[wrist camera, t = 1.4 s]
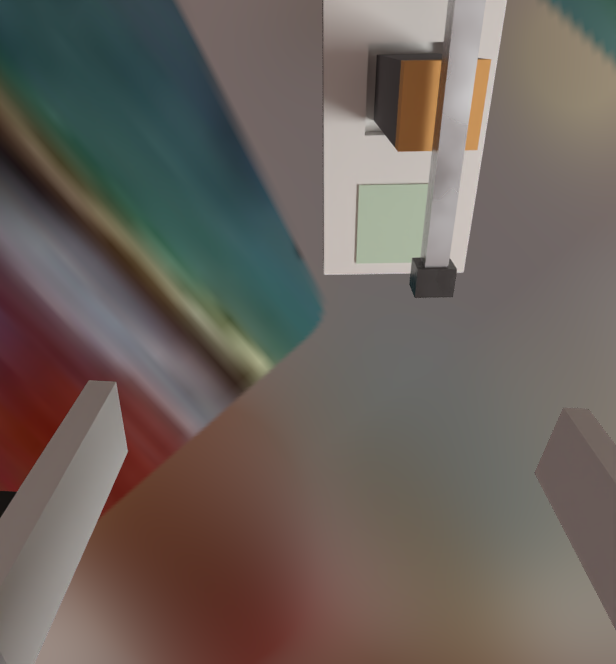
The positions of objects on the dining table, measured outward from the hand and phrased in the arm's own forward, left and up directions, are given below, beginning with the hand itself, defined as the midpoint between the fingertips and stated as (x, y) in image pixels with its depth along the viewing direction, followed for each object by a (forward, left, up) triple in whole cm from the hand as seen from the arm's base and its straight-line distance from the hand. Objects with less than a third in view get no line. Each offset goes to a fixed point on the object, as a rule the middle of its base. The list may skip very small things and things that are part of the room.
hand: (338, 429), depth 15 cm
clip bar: (-4, +8, -13) cm, 16 cm away
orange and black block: (-4, +8, -26) cm, 27 cm away
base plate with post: (-2, +7, -27) cm, 28 cm away
